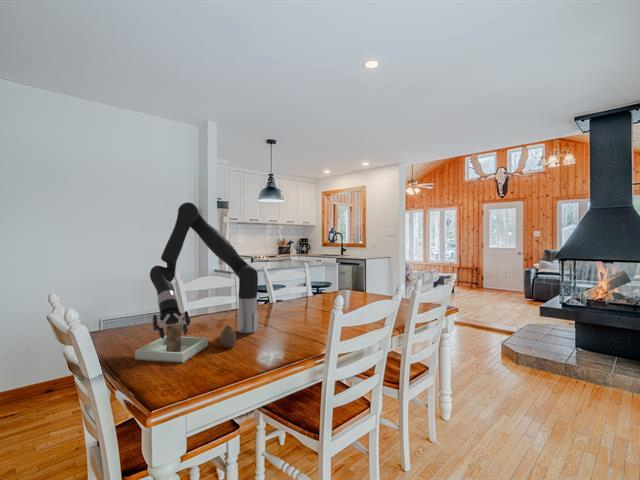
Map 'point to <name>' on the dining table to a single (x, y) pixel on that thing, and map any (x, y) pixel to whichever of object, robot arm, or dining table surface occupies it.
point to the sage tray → (159, 352)
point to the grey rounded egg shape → (227, 337)
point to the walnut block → (173, 338)
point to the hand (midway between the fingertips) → (174, 335)
